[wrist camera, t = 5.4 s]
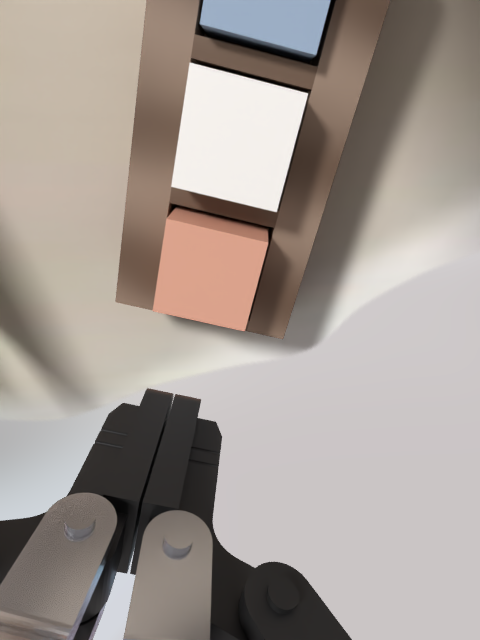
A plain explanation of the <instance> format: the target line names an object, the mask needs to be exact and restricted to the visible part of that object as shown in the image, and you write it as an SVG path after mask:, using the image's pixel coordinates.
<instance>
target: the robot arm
mask: <svg viewBox="0 0 480 640" xmlns="http://www.w3.org/2000/svg"><path fill="white" fill-rule="evenodd" d="M172 401H173V404H172ZM200 403H201V399H196V398H192V397H187V396H182V395H177V394H176V395H175V397H174V400H173V394H172V393H168V392H163V391H158V390H153V389H148V388H147V390H146V392H145V394H144V397H143V399H142V401H141V404H140V406H135V405H131V404H126V403H122V404H121V405H120V406H118V407H117V408H116V409H115V410H113V411H112V412H111V413H109V415H108V417H107V419H106V421H105V423H104V425H103V427H102V429H101V431H100V433H99V435H98V437H97V439H96V440H95V444H93V446H92V449H91V450H90V452H89V454H88V456H87V458H86V461H85V462H84V464H83V466H82V468H81V470H80V472H79V474H78V476H77V478H76V480H75V482H74V484H73V486H72V488H71V490H70V492H69V493H68V495H67V496H66V497H64V498H62V499H61V500H59V501H57V502H56V503H55V504H54V505H53V506H52V507H51V508H49V510H48V511H47V512H45V513H43V514H40V515H37V516H34V517H30V518H23V519H15V520H5V521H0V640H93V637H94V634H95V632H96V629H97V627H98V624H99V622H100V619H101V616H102V614H103V611H104V608H105V603H106V602H107V600H108V597H109V595H110V592H111V588H112V585H113V582H114V579H115V575H116V572H122V573H127V572H128V569H129V565H130V562H131V558H132V555H133V551H134V555H133V561H132V566H131V572H130V574H134V575H136V576H135V581H134V587H133V592H132V597H131V602H130V607H129V612H128V618H127V623H126V628H125V633H124V639H123V640H352V639H351V638H350V637H349V636H348V634H347V633H346V631H345V630H344V629H343V627H342V626H341V625H340V624H339V622H338V621H337V619H336V618H335V617H334V616H333V614H332V613H331V612H330V610H329V609H328V607H327V606H326V605H325V603H324V602H323V601H322V600H321V598H320V597H319V596H318V594H317V593H316V592H315V590H314V589H313V588H312V586H311V585H310V584H309V582H308V581H307V580H306V579H305V577H304V576H303V575H302V574H301V573H299V572H298V571H297V570H296V569H294V568H293V567H291V566H289V565H287V564H283V563H280V562H268V563H263V564H261V565H259V566H258V567H256V568H254V567H252V566H250V565H248V564H246V563H245V562H243V561H241V560H239V559H237V558H236V557H234V556H233V555H231V554H230V553H229V552H227V551H226V550H225V549H224V548H223V546H222V545H221V544H220V542H219V541H218V539H217V537H216V535H215V533H214V529H213V523H212V520H213V519H212V518H213V509H214V501H215V492H216V483H217V475H218V466H219V457H220V450H221V441H222V436H221V433H220V431H219V428H218V426H217V423H216V422H213V421H209V420H204V419H199V418H197V417H198V412H199V407H200ZM171 406H172V407H171ZM134 548H135V549H134Z"/></svg>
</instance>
